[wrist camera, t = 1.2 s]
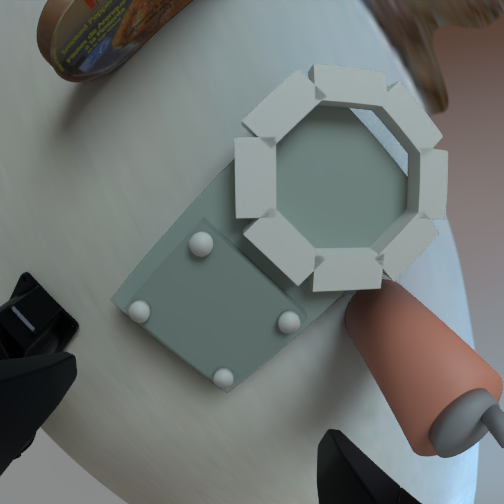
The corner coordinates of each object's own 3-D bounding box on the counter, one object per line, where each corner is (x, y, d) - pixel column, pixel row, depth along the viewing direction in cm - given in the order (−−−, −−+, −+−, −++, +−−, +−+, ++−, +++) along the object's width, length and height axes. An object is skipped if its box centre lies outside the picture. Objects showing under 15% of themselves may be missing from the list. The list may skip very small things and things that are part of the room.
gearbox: (238, 375, 24) (237, 417, 19) (115, 273, 21) (86, 300, 17) (439, 182, 20) (479, 189, 15) (327, 53, 18) (349, 25, 13)
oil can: (371, 355, 23) (454, 504, 9) (330, 316, 22) (415, 487, 8) (420, 309, 22) (539, 430, 8) (384, 264, 21) (528, 389, 7)
